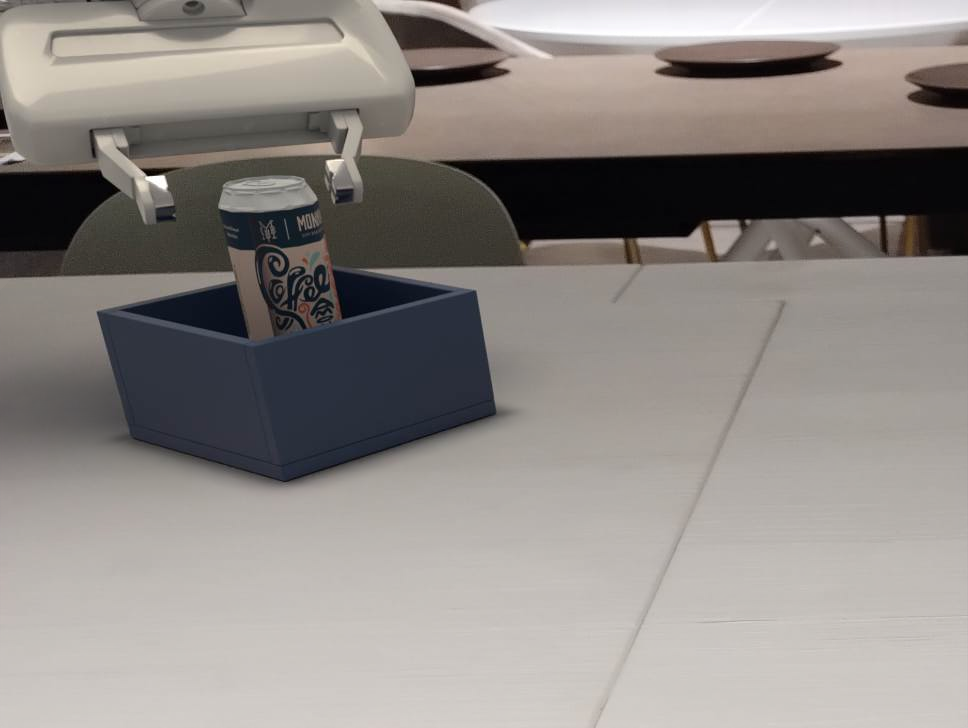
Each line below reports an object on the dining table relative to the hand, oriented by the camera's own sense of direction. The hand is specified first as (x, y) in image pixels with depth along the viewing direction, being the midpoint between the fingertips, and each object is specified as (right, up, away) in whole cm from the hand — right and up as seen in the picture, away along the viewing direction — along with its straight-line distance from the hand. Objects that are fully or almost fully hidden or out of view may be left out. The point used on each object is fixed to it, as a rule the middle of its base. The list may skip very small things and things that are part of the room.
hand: (257, 206), depth 88 cm
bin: (+1, -11, +4) cm, 12 cm away
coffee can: (+1, -10, +4) cm, 11 cm away
